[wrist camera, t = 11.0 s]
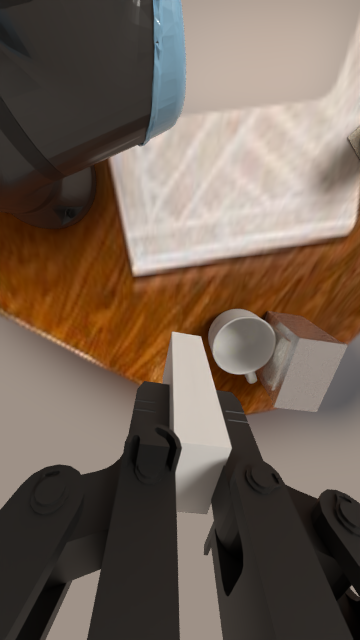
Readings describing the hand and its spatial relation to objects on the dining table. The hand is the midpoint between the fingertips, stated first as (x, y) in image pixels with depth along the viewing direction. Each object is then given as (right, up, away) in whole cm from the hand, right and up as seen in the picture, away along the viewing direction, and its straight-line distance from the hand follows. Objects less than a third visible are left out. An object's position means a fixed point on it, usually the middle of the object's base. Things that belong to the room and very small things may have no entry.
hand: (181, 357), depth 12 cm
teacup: (+11, -1, +35) cm, 37 cm away
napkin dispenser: (+19, -2, +36) cm, 41 cm away
